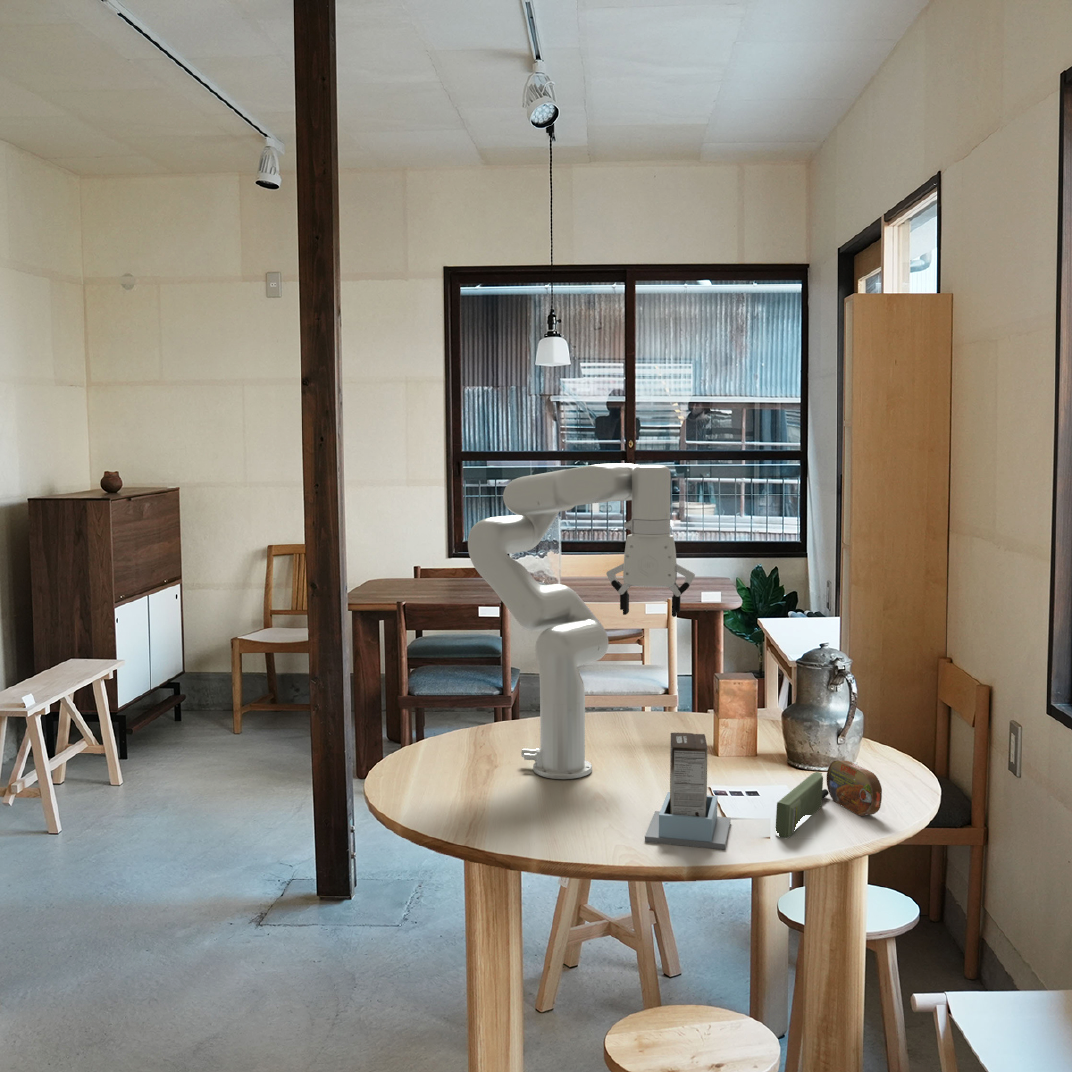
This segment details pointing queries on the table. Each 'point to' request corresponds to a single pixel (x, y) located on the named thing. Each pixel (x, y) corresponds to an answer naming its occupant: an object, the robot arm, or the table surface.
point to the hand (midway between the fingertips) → (650, 614)
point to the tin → (854, 787)
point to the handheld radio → (799, 804)
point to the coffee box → (688, 774)
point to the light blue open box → (689, 827)
